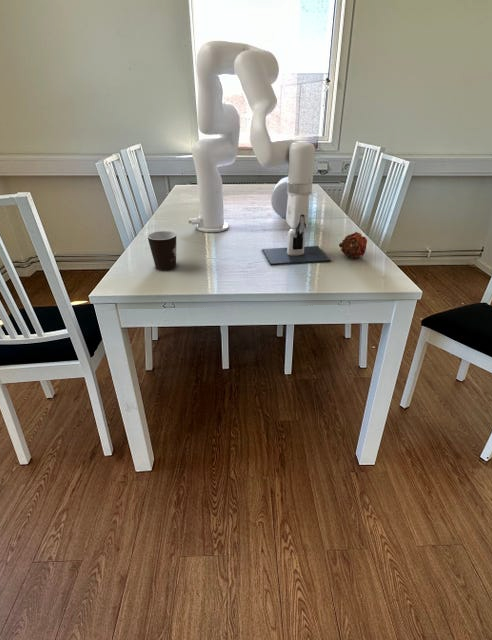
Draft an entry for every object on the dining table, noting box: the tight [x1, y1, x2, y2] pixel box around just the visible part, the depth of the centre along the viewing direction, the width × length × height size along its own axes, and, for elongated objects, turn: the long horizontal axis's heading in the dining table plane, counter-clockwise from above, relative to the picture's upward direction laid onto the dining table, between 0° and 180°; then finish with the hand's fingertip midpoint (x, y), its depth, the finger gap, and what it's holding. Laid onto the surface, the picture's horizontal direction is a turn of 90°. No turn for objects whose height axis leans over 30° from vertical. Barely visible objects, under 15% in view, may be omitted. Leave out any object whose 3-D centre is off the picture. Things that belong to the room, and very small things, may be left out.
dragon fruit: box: [338, 231, 368, 260], centre depth 131 cm, size 8×8×12 cm
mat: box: [262, 245, 331, 266], centre depth 133 cm, size 20×14×1 cm
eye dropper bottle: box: [286, 226, 306, 256], centre depth 129 cm, size 4×6×12 cm
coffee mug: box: [146, 230, 177, 272], centre depth 122 cm, size 12×9×10 cm
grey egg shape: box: [268, 176, 289, 219], centre depth 175 cm, size 19×15×25 cm
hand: (295, 246), depth 131 cm, fingers closed on eye dropper bottle, 3 cm apart
